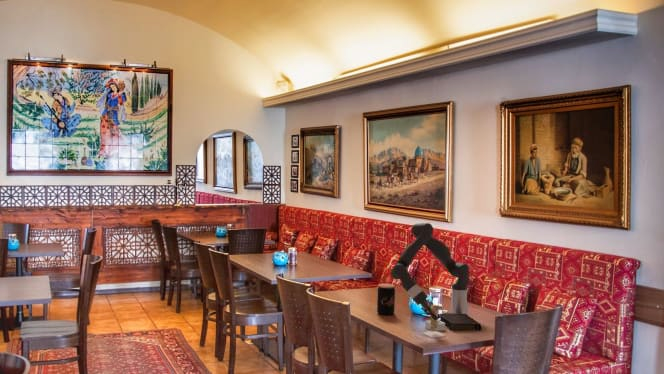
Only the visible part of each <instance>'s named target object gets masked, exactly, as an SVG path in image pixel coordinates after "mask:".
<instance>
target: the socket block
mask: <svg viewBox="0 0 664 374" xmlns="http://www.w3.org/2000/svg"><path fill="white" fill-rule="evenodd" d="M439 320H440V319H439ZM439 320H438V324H437V330H431V329H430V324H431V319H430V320H425V324H424V325H425V326H424V327H425V328H426V329H427V330H429V331H430V332H433V331H437V332H440V331H445V330H446V326H445V323H444V322H441V321H439Z"/></svg>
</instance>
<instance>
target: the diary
mask: <svg viewBox="0 0 664 374" xmlns="http://www.w3.org/2000/svg"><path fill="white" fill-rule="evenodd" d="M438 314H439V315H440V318H439V319H438V320H439V321H441V322H444V323H445V327H446V326H447V327H446V328H448V330H449V331H451V332H466V331H481V330H482V325H481V323H480V322H478V321H476V320H475V319H474V318H472V317H471V316H470V315H467V314H455V313H451V312H449V313H448V312H445V313H443V312H442V313H438Z"/></svg>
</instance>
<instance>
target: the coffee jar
mask: <svg viewBox="0 0 664 374" xmlns="http://www.w3.org/2000/svg"><path fill="white" fill-rule="evenodd" d="M377 287H378V288H377V298H376V299H377V303H376V304H377V305H376V312H377V314H378V315H379V316H386V317H387V316H393V315H394V314H395V309H396V308H395V305H396V304H395V302H396V300H395V299H396V289H395V287H396V285H395V284H392V283H378V284H377Z"/></svg>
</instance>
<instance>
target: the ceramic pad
mask: <svg viewBox="0 0 664 374" xmlns="http://www.w3.org/2000/svg"><path fill="white" fill-rule="evenodd" d="M422 335H424V336H426V337H428V338H430V339H433V338H434V339H435V338H445V337H446V334H444V333H442V332H440V331H424V332H423V331H422Z"/></svg>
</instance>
